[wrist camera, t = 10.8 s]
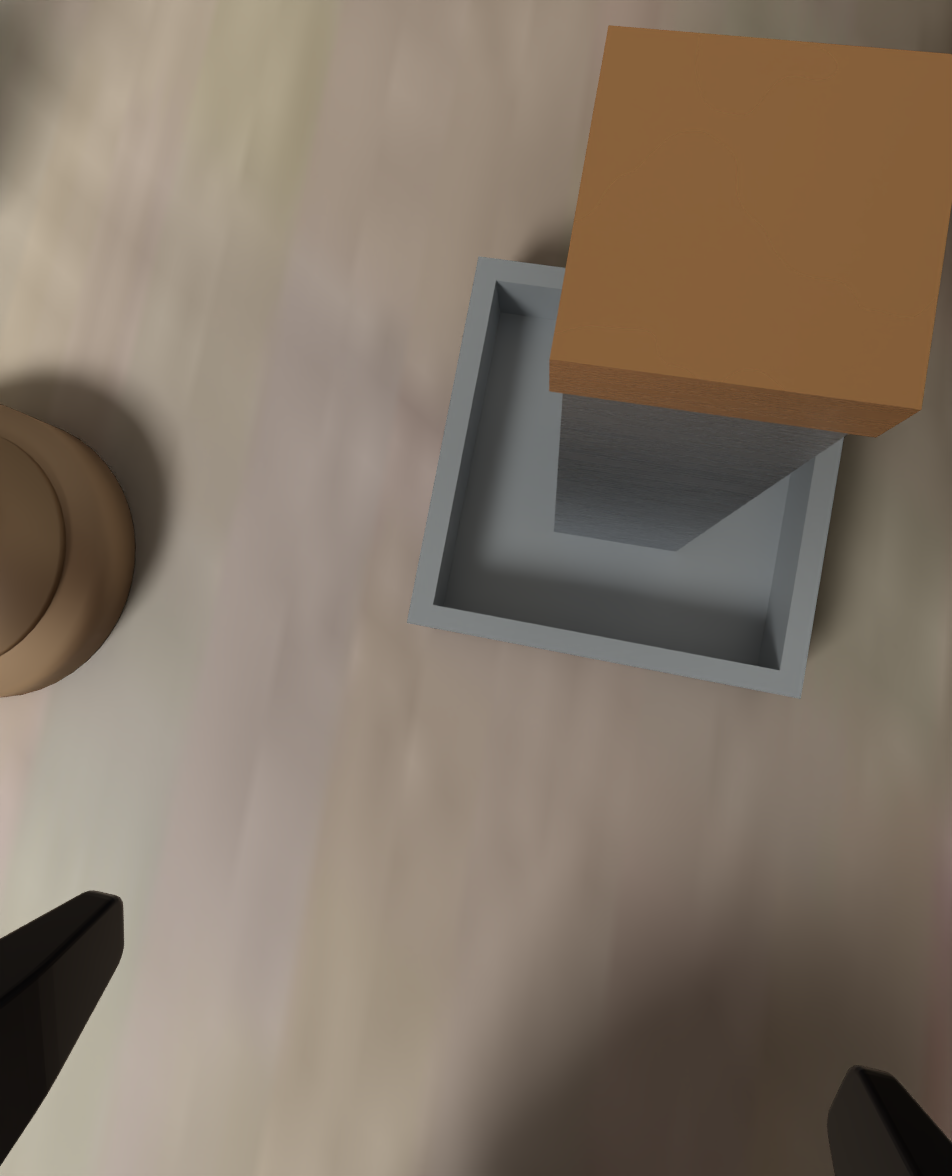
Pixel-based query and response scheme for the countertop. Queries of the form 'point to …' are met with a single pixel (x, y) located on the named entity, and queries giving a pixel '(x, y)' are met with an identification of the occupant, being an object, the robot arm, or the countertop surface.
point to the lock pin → (743, 271)
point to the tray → (593, 566)
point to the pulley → (57, 553)
